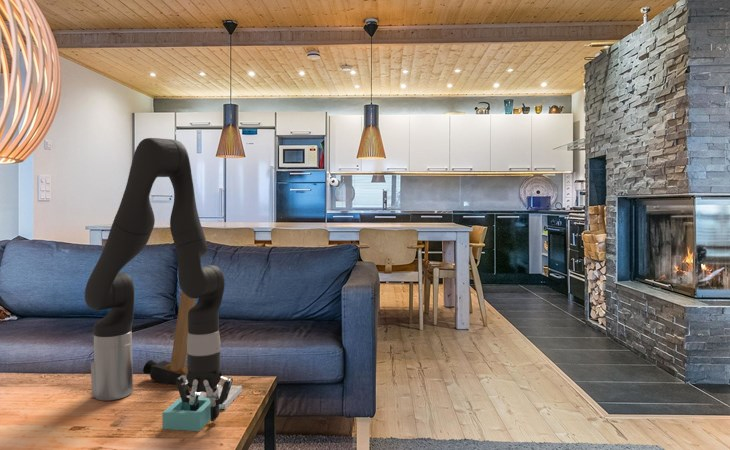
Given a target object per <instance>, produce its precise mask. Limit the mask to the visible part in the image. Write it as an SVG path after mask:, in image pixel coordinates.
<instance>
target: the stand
mask: <svg viewBox="0 0 730 450" xmlns="http://www.w3.org/2000/svg"><path fill="white" fill-rule="evenodd" d="M217 387H218V394H219V397H220V395H221V392H222V389H223V387H222V386H221V384H219V383H218V384H217ZM242 392H243V385H231V388H230V391H229V394H228V397H227V399H226V401H224V403H223V404H219V410H220V409H224V410H225V411H226V409H228V407H229V406H230V405H231V404H232V403H233V402H234V401H235V400H236V398H237V397H238V396H239V395H240V394H241V393H242ZM199 398H208V395H207V393H206V392H200V394H199ZM233 400H234V401H233ZM224 410H223V411H224Z"/></svg>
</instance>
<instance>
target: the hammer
mask: <svg viewBox="0 0 730 450" xmlns="http://www.w3.org/2000/svg"><path fill="white" fill-rule="evenodd" d="M196 299H197V298H190V297H188V296H186V295H185V294H184V292H183V291H182V290H181V292H180V299H179V304H178V311H177V312H178V313H177V318H176V319H177V320H176V326H175V331H174V339H173V346H172V352H171V358H170V362H169V361H166V360H162V361H159V362H155V361H154V360H153V359H150V360H148V361H146V363H145V364H144V366H143V367H142V368H143V369H142V372H143V374H145V375H149V376H150V377H149V378H150V380H152V381H155V382H159V383H162V384H165V385H169V386H170V385H171V386H177V385H176V382H175V380H176V379H177V378H179V377H180V376H181V375H184V376H185V375H187V373H188V369H187V366H186V365H187V338H188V312H189V310H190V309H191V308H192V307H193V306H195V305H196ZM187 385H188V388H192V386H191V385H190V383H189V382H188V383H187Z"/></svg>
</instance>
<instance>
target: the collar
mask: <svg viewBox="0 0 730 450" xmlns="http://www.w3.org/2000/svg"><path fill="white" fill-rule="evenodd" d="M197 402H199V409H198V410H197V411H190V404H189V403H187V402H182V400H181V397H179V398H177V399H176V400H175V401H174V402H173V403H172V404H170V405H169V406H168V407H167V408H166V409H164V411H162V415H161V417H162V430H172V431H173V430H174V431H175V430H176V431H191V432H193V431H194V432H201V431H202V429H203V428H205V426H206V425H207V424H208V423H209V421H211V415H210V407H211V406H212V405H211V402H210V398H198V401H197Z"/></svg>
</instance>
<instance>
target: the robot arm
mask: <svg viewBox="0 0 730 450" xmlns="http://www.w3.org/2000/svg"><path fill="white" fill-rule="evenodd" d="M157 178H168V179H170V183H171V185H172V189H173V202H172V203H173V204H172V209H171V214H170V219H169V228H170V234H171V236H172V237H171V238H172V240H173V243H174V246H175V247H174V248H175V250H176V252H177V273H178V274H177V275H178V284H179V287H180V289H181V291H183V292H184V294H185V295H186V296H188V297H190V298H196V299H197V302H196V303H195V306H193V307H192V308H191V309H190V310H189V312H188V338H187V358H186V365H187V369H188V373H187V375H185V376H184V375H181V376H180V377H179V378H177V379H176V380H175V382H176V385H175V386H176V388H177V390H178V393H179V396H180V397H181V400H182V402H187V403H189V404H190V411H197V410H198V409H199V402H197V401H198V398H199V394H200V392H206V393H207V395H208V398H210V402H211V405H212V406H211V407H210V415H211V419H210V422H215V421H216V420H217V419H218V417H219V415H220V409H219V404H223V403H224V401H226V399H227V397H228V394H229V391H230V388H231V385H232V384H233V382H234V379H233V377H229V378H228V377H225V376H223V374H222V372H221V345H222V344H221V338H220V336H221V335H220V326H219V325H220V322H219V321H220V320H219V319H220V317H219V316H220V315H219V313H220V310H221V305H222V302H223V301H222V300H223V297H224V291H225V285H226V281H225V276H224V273H223V271H222V270H221V269H220V268H219V266H216V265H213V264H208V265H204V266H203V265H202V257H203V256H204V255H206V254H207V252H208V251H209V246H208V242H207V240H206V236H205V232H204V230H203V227H202V226H203V225H202V224H201V220H200V216H199V212H198V208H197V202H196V197H195V189H194V188H195V187H194V180H193V175H192V167H191V160H190V157H189V153H188V150H187V148H186V146H185V145H184V143H182V141H179V140H177V139H168V138H159V137H154V138H153V137H147V138H143V139H142V140H140V142H139V143H138V145H137V146H136V148H135V150H134V153H133V156H132V160H131V165H130V169H129V172H128V178H127V182H126V186H125V188H124V191H123V195H122V197H121V201H120V204H119V206H118V210H117V212H116V214H115V216H114V217H113V218H114V219H113V221H112V224H111V227H110V230H109V233H108V236H107V239H106V242H105V244H104V247H103V249H102V251H101V254H100V256H99V258H98V260H97V262H96V264H95V266H94V268H93V270H92V272H91V274H90V275H89V278H88V281H87V282H86V285H85V289H84V301H85V304H86V306H87V307H88V308H89V309H91V310H93V311H104V310H109V309H110V311H109V312H108V313H107V314H106V315H105V316H104V317H102V318H101V319H99V320H98V321H96V322H95V324H94V325H93V331H92V332H93V351H94V353H93V354H94V357H93V359H94V360H93V361H92V362H91V363H90V373H91V374H90V375H91V377H90V379H91V398H94V399H96V400H99V401H114V400H119V399H123V398H126V397H127V396H131V394H133V392H134V374H133V372H134V371H133V368H134V367H133V338H132V337H133V333H132V332H133V331H132V329H133V327H132V326H133V322H134V315H135V313H134V312H135V311H134V309H135V286H134V285H135V284H134V282H133V279H132V277H131V276H130V275H129V274H128V273H126V272H120V271H122V269H123V268H124V267H125V266H127V264H129V262H131V261H132V260H133V259H134V258H136V256H137V255H139V254H140V253H141V252H142V251H143V250H144V249H145V247H146V246H147V243H148V242H149V239H150V237H151V235H152V232H153V229H154V228H155V227H154V226H155V220H156V219H155V214H154V210H153V207H152V204H151V201H150V200H151V199H150V195H151V192H152V188H153V185H154V183H155V181H156V179H157ZM188 382H189V383H190V385H191V386H192V387H191V391H190V389H189V388H190V387H188V385H187V383H188ZM219 383H220V385H221V386H222V387H223V389H222V392H221V395H220V397H219V394H218V387H217V384H218V385H219ZM180 397H179V398H180Z"/></svg>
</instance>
